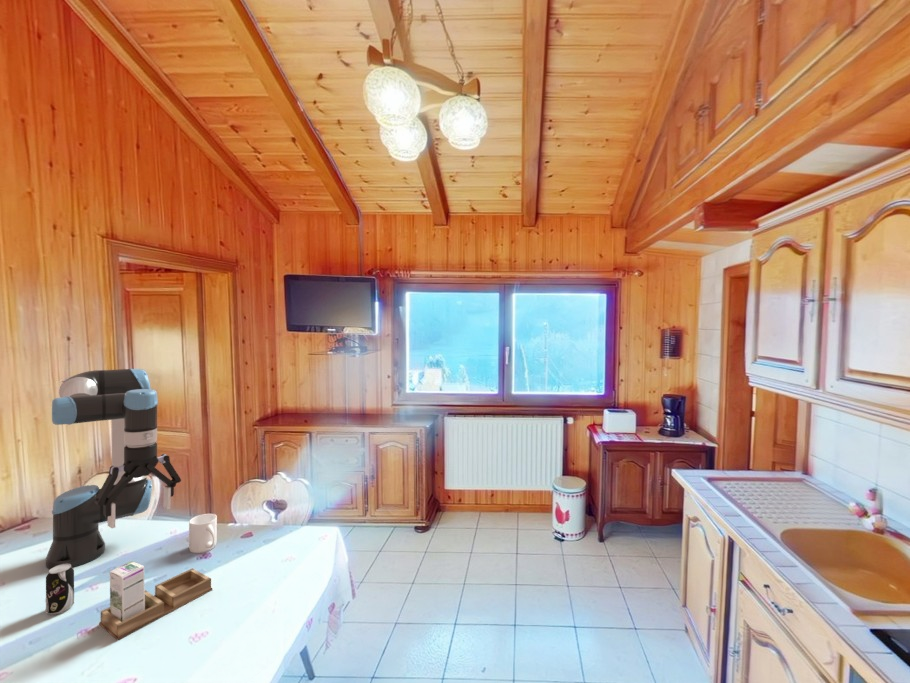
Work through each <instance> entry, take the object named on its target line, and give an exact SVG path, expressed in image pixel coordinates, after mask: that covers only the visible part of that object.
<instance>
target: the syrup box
mask: <svg viewBox="0 0 910 683" xmlns="http://www.w3.org/2000/svg"><path fill="white" fill-rule="evenodd" d="M145 590H146V588H145V565H143V564H140V563H137V562H135V561H129V562H127V563H124V564H122V565H120V566H118V567H116V568H115V569H112V570H110V571H109V604H110V606H109V607H110V613H111V614H112V615H113V616H114V617H116V618H117V619H118V620H120V621H121V622H123V621H125V620H127V619H128V618H130V617H132V616H134V615H136V614H138V613H140V612H142V611H144V610H145Z"/></svg>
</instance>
